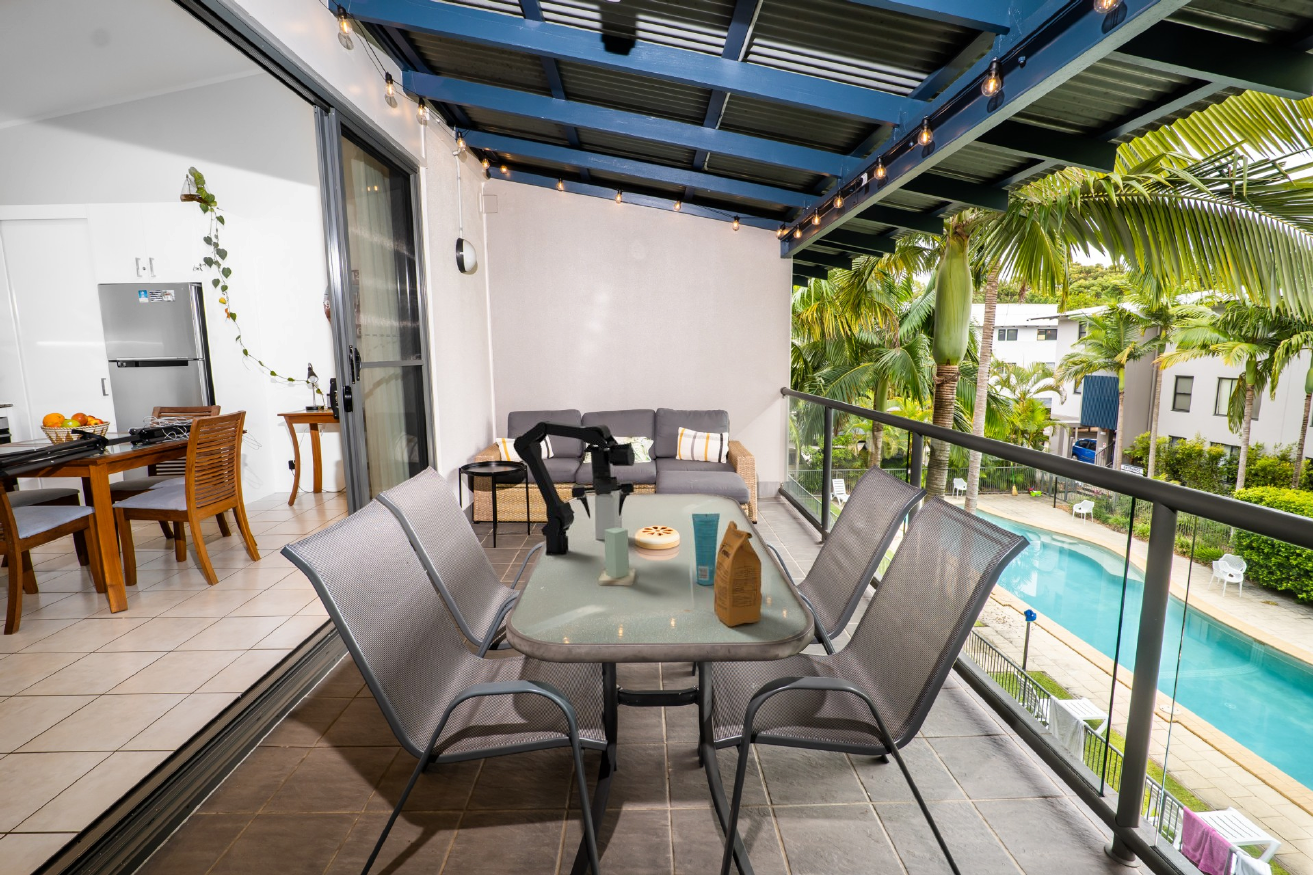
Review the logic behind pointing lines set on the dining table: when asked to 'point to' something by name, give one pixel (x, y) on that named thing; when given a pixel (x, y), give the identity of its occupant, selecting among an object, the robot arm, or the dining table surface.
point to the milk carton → (607, 513)
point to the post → (616, 552)
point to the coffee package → (737, 579)
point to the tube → (705, 546)
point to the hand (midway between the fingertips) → (604, 516)
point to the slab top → (619, 581)
